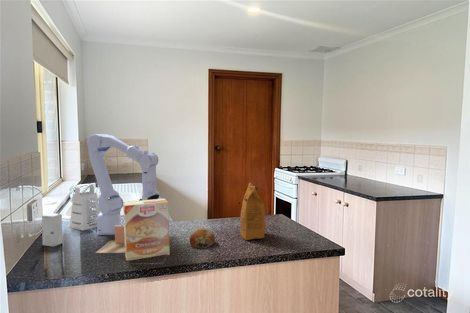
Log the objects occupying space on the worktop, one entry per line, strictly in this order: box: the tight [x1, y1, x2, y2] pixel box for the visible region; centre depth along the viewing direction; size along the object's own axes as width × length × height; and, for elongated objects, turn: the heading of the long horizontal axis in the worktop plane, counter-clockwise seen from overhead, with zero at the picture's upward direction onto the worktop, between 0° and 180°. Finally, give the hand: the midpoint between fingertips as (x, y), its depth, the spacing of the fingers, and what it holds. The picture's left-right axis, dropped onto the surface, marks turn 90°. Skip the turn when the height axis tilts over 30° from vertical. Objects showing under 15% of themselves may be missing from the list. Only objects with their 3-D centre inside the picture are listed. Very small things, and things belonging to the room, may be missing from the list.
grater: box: [69, 183, 101, 231], centre depth 155 cm, size 10×10×20 cm
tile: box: [114, 224, 125, 244], centre depth 129 cm, size 7×2×7 cm, turn 89°
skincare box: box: [41, 212, 63, 247], centre depth 130 cm, size 6×4×12 cm
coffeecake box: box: [122, 198, 171, 261], centre depth 116 cm, size 15×7×20 cm, turn 114°
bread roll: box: [189, 227, 216, 249], centre depth 128 cm, size 10×10×8 cm
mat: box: [94, 239, 125, 254], centre depth 125 cm, size 14×14×1 cm
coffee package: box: [239, 182, 266, 241], centre depth 135 cm, size 10×12×22 cm
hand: (150, 213), depth 138 cm, fingers open, 7 cm apart
